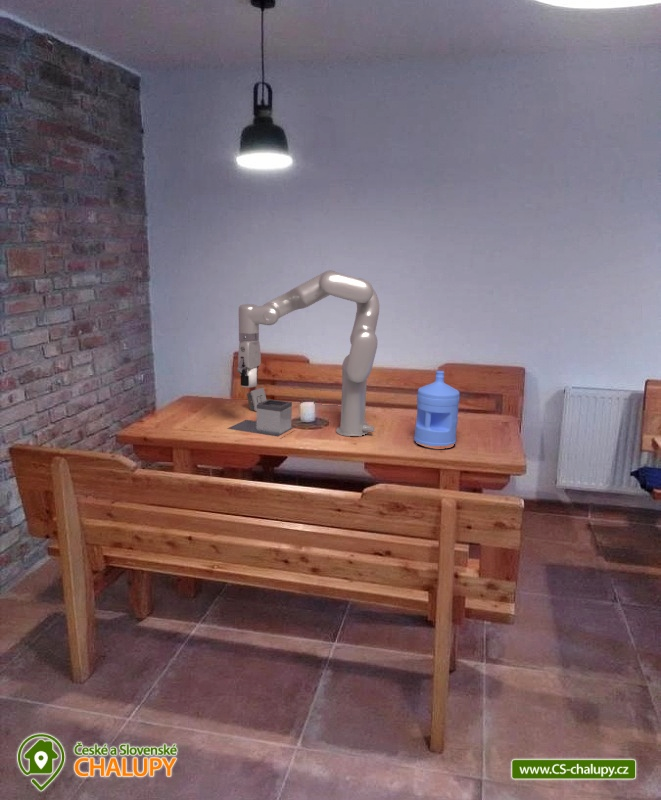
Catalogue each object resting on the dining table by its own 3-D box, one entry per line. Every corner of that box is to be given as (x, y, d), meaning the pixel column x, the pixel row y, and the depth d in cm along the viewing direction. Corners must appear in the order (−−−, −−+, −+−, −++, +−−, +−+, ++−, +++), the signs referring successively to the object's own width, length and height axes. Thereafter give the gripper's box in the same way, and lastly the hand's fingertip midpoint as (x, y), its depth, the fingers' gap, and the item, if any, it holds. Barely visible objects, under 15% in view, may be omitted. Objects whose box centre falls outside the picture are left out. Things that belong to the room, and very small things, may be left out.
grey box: (296, 429, 259) (297, 400, 256) (278, 440, 244) (278, 409, 241) (247, 422, 266) (248, 393, 264) (227, 432, 252) (227, 402, 249)
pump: (259, 385, 251) (259, 363, 249) (252, 388, 246) (251, 365, 244) (242, 383, 254) (242, 361, 252) (234, 385, 249) (234, 364, 247)
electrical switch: (256, 412, 283) (255, 391, 281) (246, 411, 285) (245, 390, 284) (268, 408, 291) (267, 387, 289) (258, 407, 293) (257, 387, 292)
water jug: (427, 435, 257) (432, 366, 251) (463, 444, 248) (469, 372, 241) (405, 443, 246) (410, 371, 239) (442, 453, 236) (448, 377, 229)
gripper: (246, 341, 236) (246, 389, 240) (268, 335, 252) (268, 381, 256) (228, 339, 239) (228, 387, 243) (251, 334, 255) (251, 379, 259)
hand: (249, 383), depth 250 cm, fingers closed on pump, 6 cm apart
